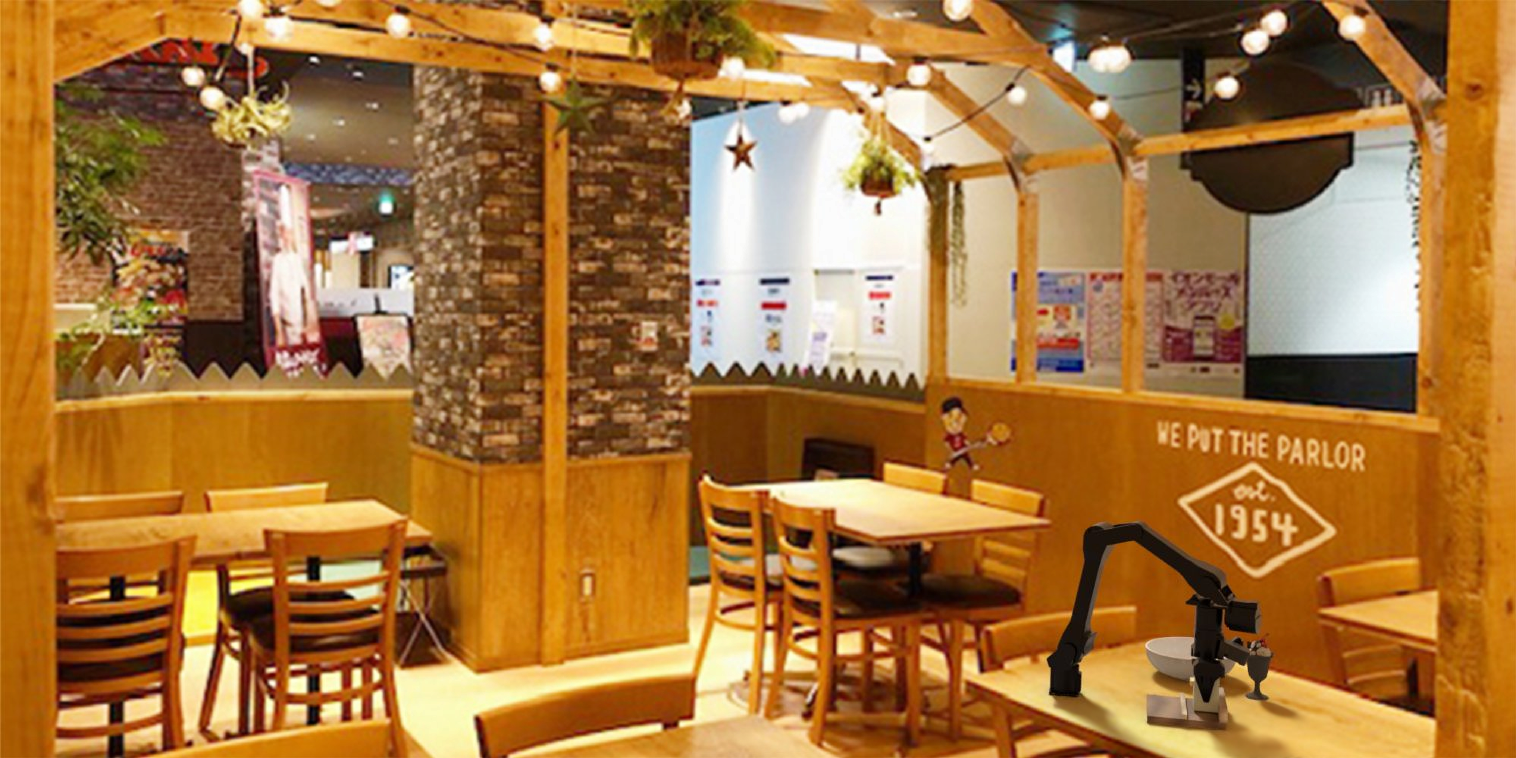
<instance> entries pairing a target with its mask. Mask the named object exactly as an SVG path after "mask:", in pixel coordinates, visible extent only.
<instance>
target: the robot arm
mask: <svg viewBox="0 0 1516 758" xmlns="http://www.w3.org/2000/svg"><path fill="white" fill-rule="evenodd" d="M1128 542H1135V543H1137V544H1138V545H1139V546H1141V547H1142V548H1143V549H1145V550H1146V551H1148V552H1149V553H1151V554H1152V555H1153V556H1155V557H1157V558H1158V559H1159V560H1161V561H1162V562H1163V563H1165V564H1166V565H1167V566H1169V567H1170V568H1172V569H1173V570H1174V571H1175V572H1177V573H1179V575H1180V576H1181V577H1182V578H1183V579H1184V581H1185V582H1186V584H1187V585H1188V586H1189V587H1190V588H1191V589H1192V590H1193V591H1194V593H1193V594H1192V595H1191V597H1190V598H1188V599H1187V600H1186V601H1185V604H1186V605H1187V606H1195V609H1194V628H1193V635H1194V637H1193V638H1194V643H1193V644H1192V645H1191V656H1193V657H1196V659H1191V660H1192V665H1193V675H1194V677H1195V679H1196V682H1197V685H1198V688H1199V691H1200V693H1201V696H1202V699H1203V702H1205V703H1209V701H1210V697H1211V694H1212V690H1213V687H1214V683H1215V681H1216V680H1217V679H1219V678H1220V679H1224V678H1225V677H1226V675H1225V667H1224V664H1223V663H1222V662H1221V661H1220V660H1224V657H1226V658H1228V659H1230V660H1232V661H1234V662H1236V664H1238V665H1239V666H1242V667H1245V666H1246V665H1247V660H1248V657H1249V655H1250V650H1249V648H1247V645H1244V640H1243V638H1241V637H1239V636H1237V635H1236V636H1234V637H1233V638H1232V639H1229V638H1228V639H1227V638H1225V635H1224V631H1223V628H1224V627H1223V626H1225V627H1226V628H1228V629H1229V631H1232V632H1239V633H1246V634H1253V635H1259V634H1260V631H1261V627H1262V621H1263V619H1262V618H1263V615H1262V614H1261V613H1262V612H1261V607H1260V601H1259V600H1243V599H1237V596H1236V594H1235V593H1234V591H1233V590H1232V589H1231V587H1230V585H1229V583H1228V579H1227V574H1226V573H1225V572H1224V571H1223V569H1221V568H1220V567H1217V566H1215V565H1212V564H1211V563H1209V562H1207V561H1204V560H1201V559H1197V558H1195V557H1194V556H1191V555H1189V554H1188V553H1187V552H1186V551H1184V550H1183V549H1181V548H1179V547H1178V545H1176V544H1175V543H1173V542H1171V541H1170V540H1169V539H1167V538H1166V537H1164V536H1163V535H1161V534H1160V533H1158V531H1156V530H1154V529H1153V528H1152V527H1150V526H1149V525H1148V523H1146V522H1145V521H1143V520H1136V521H1133V522H1126V523H1125V522H1124V523H1123V522H1122V523H1116V524H1111V523H1109V522H1107V521H1101V522H1098V523H1096V524H1094V525H1091V526H1089V527H1087V528H1086V529H1085V530H1084V532H1083V535H1082V555H1083V566H1082V570H1081V574H1080V578H1079V582H1078V587H1077V591H1076V595H1075V599H1074V604H1073V608H1072V612H1071V616H1070V620H1069V622H1068V624H1067V625H1066V627H1065V629H1064V631H1063V632H1062V635H1061V637H1060V639H1059V641H1058V643H1057V646H1056V650H1055V651H1054V652H1051V654H1050V655H1048V656H1047V658H1046V663H1047V666H1048V668H1050V669H1049V670H1050V672H1049V675H1050V676H1049V689H1048V695H1057V696H1059V695H1060V696H1068V697H1079V693H1081V692H1082V681H1083V680H1082V678H1083V677H1082V676H1083V671H1080V664H1079V663H1081V662H1082V660H1083V658H1084V657H1086V656H1087V655H1088V654H1089V653H1090V652H1091V651H1092V650H1094V649H1095V646H1094V643H1095V639H1096V638H1097V635H1098V632H1097V631H1094V630H1092V628H1091V621H1092V618H1093V617H1092V616H1093V613H1094V609H1095V604H1096V599H1097V595H1098V591H1099V589H1100V588H1099V587H1100V583H1101V578H1102V574H1103V570H1104V567H1105V564H1106V562H1107V561H1108V558H1110V555H1111V554H1112V552H1113V549H1114V548H1115V545H1118V544H1123V543H1124V544H1125V543H1128ZM1216 659H1218V660H1216Z"/></svg>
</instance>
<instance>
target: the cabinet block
mask: <svg viewBox="0 0 1516 758" xmlns="http://www.w3.org/2000/svg"><path fill="white" fill-rule="evenodd" d="M1220 679H1221V678H1219V679H1217V680H1216V681H1215V683H1214V687H1213V690H1212V694H1211V697H1210V701H1209V703H1205V702H1203V699H1202V696H1201V693H1200V691H1199V688H1198V685H1197V682H1196V679H1195V677H1194V678H1193V677H1190V681H1189V685H1190V686H1191V687H1192V690H1193V691H1192V698H1193V710H1195V711H1206V712H1217V713H1218V705H1219V687H1220Z"/></svg>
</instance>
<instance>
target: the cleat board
mask: <svg viewBox="0 0 1516 758" xmlns="http://www.w3.org/2000/svg"><path fill="white" fill-rule="evenodd" d="M1228 708H1229V707H1228V704H1227V700H1226V695H1225V690H1224V687H1222V686H1221V687H1220V686H1219V705H1218V713H1217V712H1206V711H1195V710H1193V697H1186V693H1184V692H1179V696H1170V695H1160V694H1148V693H1147V694H1146V723H1147V724H1157V725H1167V726H1175V727H1176V726H1178V727H1189V728H1199V729H1211V730H1217V731H1219V730H1220V731H1221V730H1222V731H1227V730H1228V715H1229V713H1228V711H1229V710H1228Z"/></svg>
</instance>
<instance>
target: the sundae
mask: <svg viewBox="0 0 1516 758" xmlns="http://www.w3.org/2000/svg"><path fill="white" fill-rule="evenodd" d="M1269 635H1270V633H1268V632H1266V633H1265V635H1263V636H1262V637H1261V638H1259V639H1258V640H1254V641H1253V642H1251V641H1249V640H1247V641H1246V646H1247V648H1249V650H1250V655H1249V657H1248V660H1247V662H1246V666H1247V673H1248V677H1249V678H1250V679H1251V680H1252V681H1253V682H1254V688H1253V690H1252V692H1247V693H1246V694H1245V695H1244V696H1245V697H1246V698H1248V699H1250V700H1255V701H1266V700H1268V699H1269V696H1268V695H1266V694H1264V693H1262V692H1261V683H1262V682H1263V681H1264V680H1265V679H1267V677H1268V674H1269V671H1270V663H1271V659H1272V658H1274V657H1275V653H1274V652H1271V649H1270V648H1269V647H1268V642H1266V641H1265V640H1266V637H1268V636H1269Z"/></svg>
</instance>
